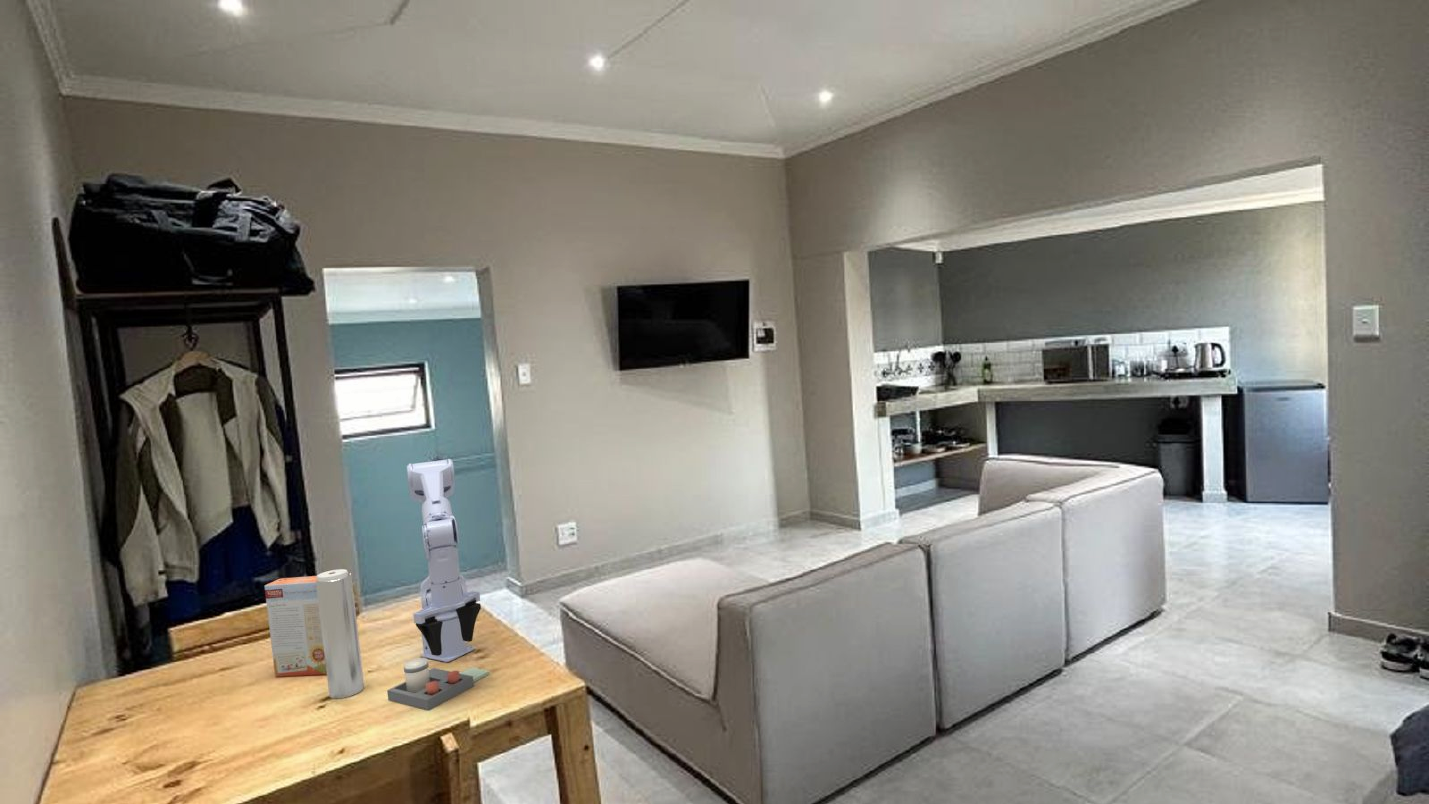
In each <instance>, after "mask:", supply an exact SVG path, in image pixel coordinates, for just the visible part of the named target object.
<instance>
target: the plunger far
mask: <svg viewBox="0 0 1429 804" xmlns="http://www.w3.org/2000/svg"><path fill="white" fill-rule="evenodd" d="M459 673H460V672H459V671H458V670H451V671H450V672H449V673H448V674H447V677H448V684H452V685H453V684H455V683H457V682H459V681H460V678H459Z"/></svg>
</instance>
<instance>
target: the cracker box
mask: <svg viewBox="0 0 1429 804" xmlns="http://www.w3.org/2000/svg"><path fill="white" fill-rule="evenodd" d="M316 581H317V575H312V576H311V575H310V576H297V577H296V576H295V577H284V578H283V577H281V578H278V579H276V580H274V581H272V582H269V583H267V584H265V585H264V593H265V594H264V595H265V602H266V603H265V604H266V610H267V618H268V627H269V635H270V637H269V638H270V642H271V652H272V659H273V668H274V676H275V677H276V678H279V677H281V678H283V677H298V676H314V675H317V676H319V675H327V672H326V664H325V655H324V647H323V638H322V630H321V621H320V613H319V604H318V596H317V587H316Z"/></svg>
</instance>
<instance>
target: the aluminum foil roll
mask: <svg viewBox="0 0 1429 804" xmlns="http://www.w3.org/2000/svg"><path fill="white" fill-rule="evenodd" d="M316 576H317V581H316V587H317V596H318V604H319V613H320V621H321V630H322V638H323V647H324V655H325V664H326V672H327V674H326V681H327V687H328V697H330V698H331V699H337V700H338V698H339V699H346V698H349V696H350V697H352V696H351V695H353V696H354V694H355V695H357V694H359V693H360V692H362V691H363V690H364V688H365V683H364V681H365V680H364V674H363V666H362V656H361V647H360V638H359V631H358V630H359V629H358V623H357V621H358V620H357V611H356V603H355V594H354V587H353V577H352V573H351V572H348V570H347V569H346V568H345V569H343V568H341V569H332V570H328V571H327V570H326V571H324V572H321V573H319V574H317V575H316ZM345 697H346V698H345Z"/></svg>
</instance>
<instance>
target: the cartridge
mask: <svg viewBox="0 0 1429 804" xmlns="http://www.w3.org/2000/svg"><path fill="white" fill-rule="evenodd" d="M428 659H429V658H425V657H418V658H412V659H409V660H408V661H405V662H404V664H403V671H404V676H405V677H404V679H405V681H406V688H407V692H411V693H417V692H419V691H421V690H423V689H425V688H426V684H427V683H429V682H430V677H429V670H430V667H429V666H430V665H429V661H428Z"/></svg>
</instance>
